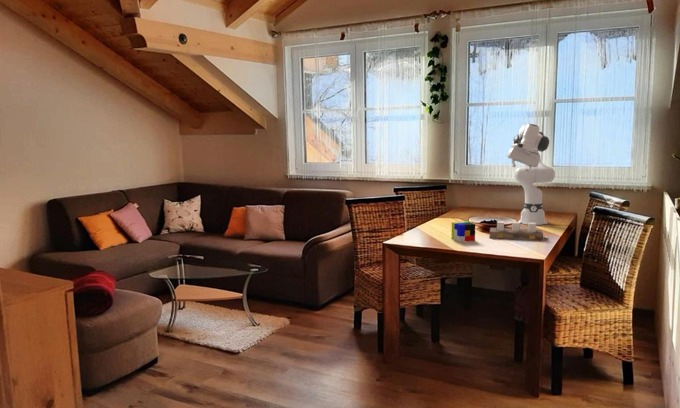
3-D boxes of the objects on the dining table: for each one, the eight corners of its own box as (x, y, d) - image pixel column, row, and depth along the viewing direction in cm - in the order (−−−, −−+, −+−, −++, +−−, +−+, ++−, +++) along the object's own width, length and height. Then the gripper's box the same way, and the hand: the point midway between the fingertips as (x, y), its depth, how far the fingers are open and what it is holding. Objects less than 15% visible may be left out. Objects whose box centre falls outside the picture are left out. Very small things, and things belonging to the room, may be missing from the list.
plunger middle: (512, 231, 312) (512, 221, 311) (519, 231, 311) (519, 222, 310) (512, 232, 308) (512, 223, 308) (519, 233, 307) (519, 223, 306)
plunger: (528, 232, 310) (528, 222, 309) (535, 232, 308) (535, 222, 307) (528, 233, 306) (528, 223, 305) (535, 233, 305) (535, 223, 304)
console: (490, 233, 320) (490, 227, 320) (541, 236, 311) (541, 229, 311) (489, 238, 309) (489, 231, 308) (543, 240, 300) (543, 234, 299)
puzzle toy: (459, 242, 300) (459, 225, 298) (451, 238, 309) (451, 222, 308) (474, 240, 303) (475, 224, 301) (466, 237, 312) (466, 221, 311)
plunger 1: (496, 230, 315) (497, 221, 314) (503, 231, 314) (504, 221, 313) (496, 232, 311) (497, 222, 310) (503, 232, 310) (504, 222, 309)
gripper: (538, 154, 326) (532, 175, 326) (509, 144, 323) (503, 164, 323) (543, 153, 320) (537, 174, 319) (514, 142, 317) (508, 163, 316)
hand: (520, 169), depth 321 cm, fingers open, 8 cm apart
